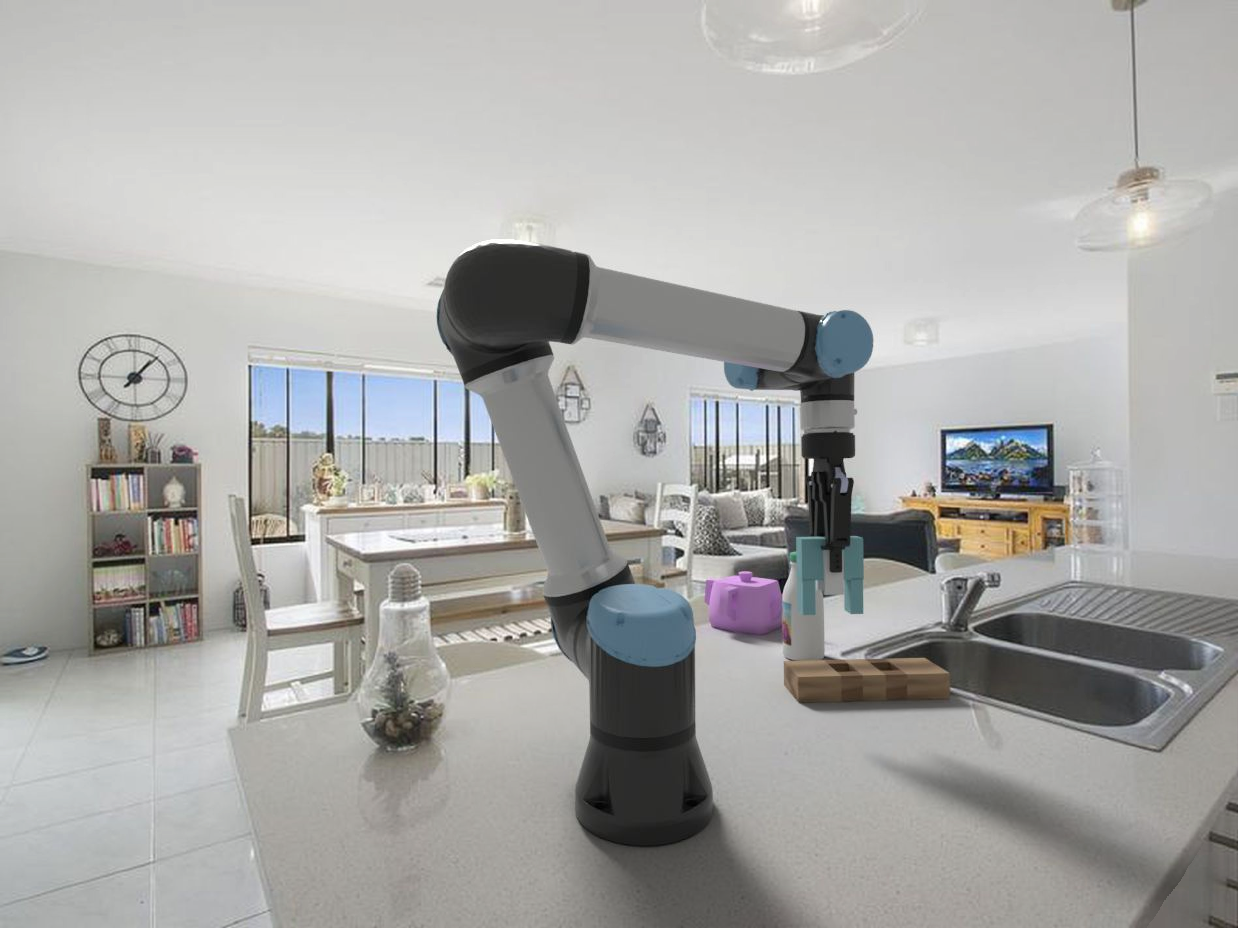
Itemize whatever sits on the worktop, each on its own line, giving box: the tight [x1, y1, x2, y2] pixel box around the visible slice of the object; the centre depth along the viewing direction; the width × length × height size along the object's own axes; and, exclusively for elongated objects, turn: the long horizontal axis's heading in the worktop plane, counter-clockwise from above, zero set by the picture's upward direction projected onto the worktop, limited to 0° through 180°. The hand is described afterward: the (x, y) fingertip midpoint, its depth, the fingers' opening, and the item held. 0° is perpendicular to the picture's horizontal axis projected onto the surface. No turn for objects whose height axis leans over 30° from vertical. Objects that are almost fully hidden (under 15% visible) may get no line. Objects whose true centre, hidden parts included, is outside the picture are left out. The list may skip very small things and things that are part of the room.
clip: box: [795, 535, 865, 615], centre depth 95 cm, size 3×9×11 cm, turn 91°
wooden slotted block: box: [783, 657, 951, 703], centre depth 106 cm, size 8×24×4 cm, turn 91°
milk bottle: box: [781, 551, 825, 661], centre depth 125 cm, size 8×8×20 cm
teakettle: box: [703, 570, 783, 636], centre depth 148 cm, size 17×17×12 cm
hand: (829, 591), depth 95 cm, fingers closed on clip, 3 cm apart
